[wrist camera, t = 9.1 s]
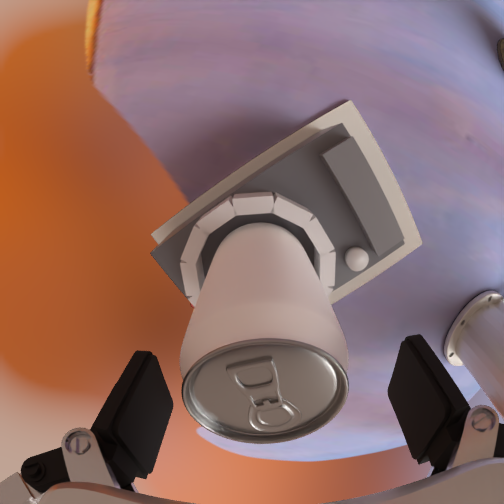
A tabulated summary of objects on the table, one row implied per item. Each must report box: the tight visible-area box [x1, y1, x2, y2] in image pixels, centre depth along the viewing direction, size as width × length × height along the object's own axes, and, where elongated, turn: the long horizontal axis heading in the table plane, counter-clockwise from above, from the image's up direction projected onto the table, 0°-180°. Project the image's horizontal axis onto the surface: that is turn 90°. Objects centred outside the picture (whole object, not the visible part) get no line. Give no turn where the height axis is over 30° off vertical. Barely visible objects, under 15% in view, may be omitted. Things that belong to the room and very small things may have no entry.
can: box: [180, 222, 349, 444], centre depth 14 cm, size 6×6×12 cm
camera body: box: [150, 123, 405, 308], centre depth 21 cm, size 16×10×8 cm, turn 124°
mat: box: [151, 100, 423, 305], centre depth 25 cm, size 22×16×1 cm
